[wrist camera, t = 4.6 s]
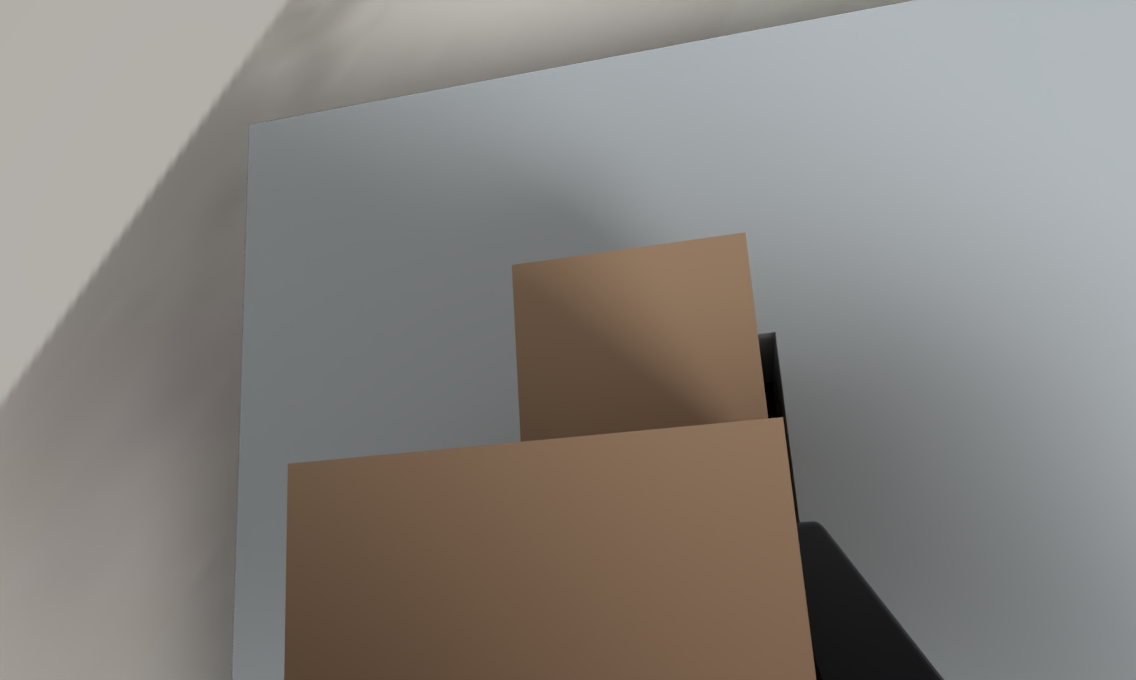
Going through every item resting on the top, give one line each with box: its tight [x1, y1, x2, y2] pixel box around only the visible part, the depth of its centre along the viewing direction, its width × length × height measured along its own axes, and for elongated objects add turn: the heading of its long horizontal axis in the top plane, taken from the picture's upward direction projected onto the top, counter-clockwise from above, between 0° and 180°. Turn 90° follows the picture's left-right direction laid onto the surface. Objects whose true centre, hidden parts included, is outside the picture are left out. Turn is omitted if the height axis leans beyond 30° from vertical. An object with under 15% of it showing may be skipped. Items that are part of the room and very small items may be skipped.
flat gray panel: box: [232, 0, 1136, 680], centre depth 13 cm, size 18×14×4 cm
